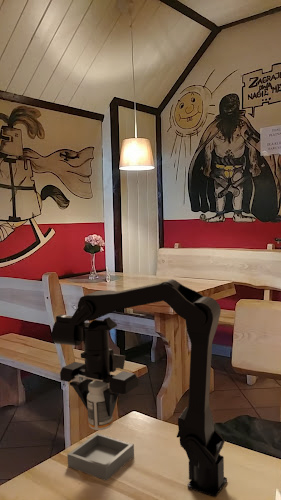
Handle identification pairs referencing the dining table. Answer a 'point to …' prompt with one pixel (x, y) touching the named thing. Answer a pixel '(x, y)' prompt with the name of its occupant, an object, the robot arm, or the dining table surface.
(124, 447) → the tray
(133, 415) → the dining table surface
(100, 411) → the pill bottle
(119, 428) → the dining table surface
